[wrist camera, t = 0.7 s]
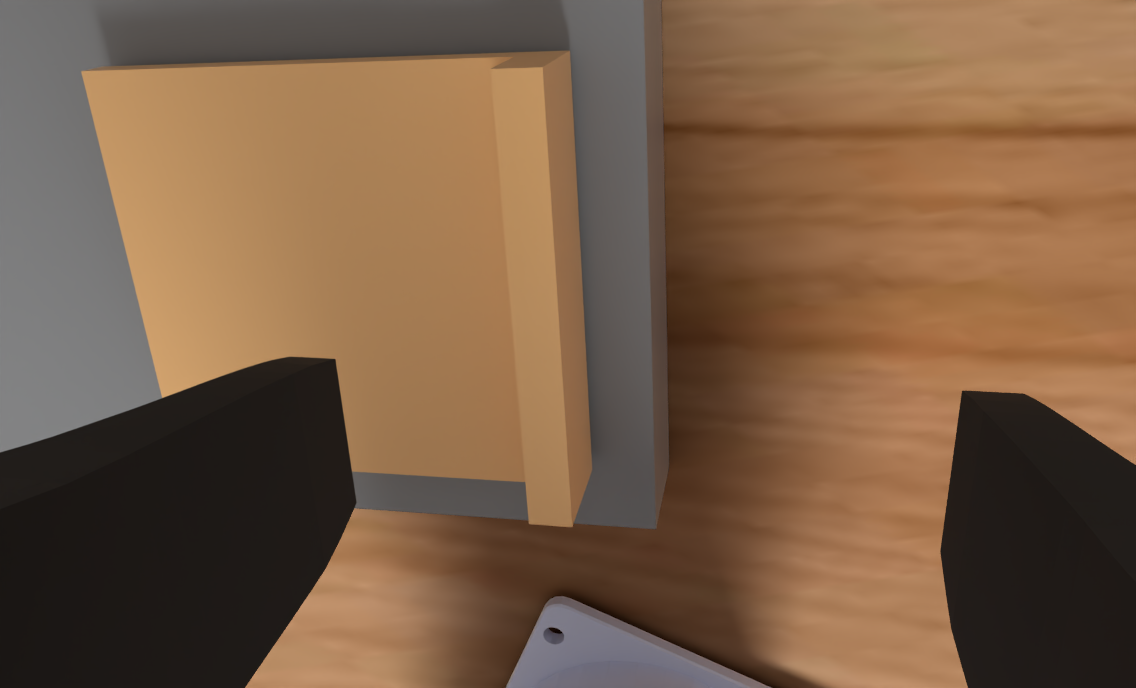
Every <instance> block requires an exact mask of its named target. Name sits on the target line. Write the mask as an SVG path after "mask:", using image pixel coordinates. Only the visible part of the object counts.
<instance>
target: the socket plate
mask: <svg viewBox="0 0 1136 688" xmlns="http://www.w3.org/2000/svg"><path fill="white" fill-rule="evenodd" d="M567 50H570V61H571V80H572V98H573V117H574V136H575V155H576V174H577V192H578V211H579V230H580V249H581V268H582V286H583V305H584V324H585V343H586V362H587V380H588V399H589V418H590V437H591V456H592V472H591V475H590V478H589V481H588V484H587V486H586V489H585V492H584V495H583V498H582V501H581V504H580V506H579V509H578V512H577V515H576V518H575V521H574V524H588V525H602V526H616V527H631V528H645V529H656V527H657V522H658V518H659V513H660V508H661V503H662V499H663V494H664V489H665V484H666V480H667V475H668V470H669V421H668V361H667V301H666V241H665V182H664V122H663V62H662V2H661V0H0V452H3V451H7V450H10V449H13V448H17V447H20V446H24V445H27V444H30V443H34V442H37V441H40V440H43V439H47V438H50V437H53V436H56V435H59V434H62V433H64V432H67V431H70V430H73V429H76V428H79V427H82V426H85V425H88V424H91V423H93V422H96V421H99V420H102V419H105V418H108V417H111V416H114V415H117V414H120V413H122V412H125V411H128V410H131V409H134V408H137V407H139V406H142V405H145V404H148V403H150V402H153V401H156V400H158V399H161V398H162V395H161V391H160V387H159V383H158V379H157V375H156V371H155V367H154V363H153V359H152V355H151V351H150V347H149V343H148V339H147V335H146V331H145V327H144V322H143V318H142V314H141V310H140V306H139V302H138V298H137V294H136V290H135V286H134V282H133V278H132V274H131V270H130V266H129V262H128V258H127V254H126V250H125V246H124V242H123V238H122V234H121V230H120V226H119V222H118V218H117V214H116V210H115V206H114V202H113V198H112V194H111V190H110V186H109V182H108V177H107V173H106V169H105V165H104V161H103V157H102V153H101V149H100V145H99V141H98V137H97V133H96V129H95V125H94V121H93V117H92V113H91V109H90V105H89V101H88V97H87V93H86V89H85V85H84V81H83V77H82V73H81V71H85V70H89V69H94V68H98V67H105V66H134V65H163V64H192V63H220V62H249V61H278V60H307V59H336V58H365V57H394V56H423V55H452V54H481V53H509V52H538V51H567ZM352 475H353V481H354V488H355V495H356V502H357V503H356V505H355V508H359V509H373V510H388V511H402V512H416V513H430V514H445V515H459V516H473V517H488V518H502V519H516V520H529V519H528V507H527V495H526V484H525V482H514V481H498V480H482V479H466V478H449V477H433V476H417V475H400V474H384V473H368V472H352Z"/></svg>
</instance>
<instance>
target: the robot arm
mask: <svg viewBox="0 0 1136 688" xmlns="http://www.w3.org/2000/svg"><path fill="white" fill-rule="evenodd" d="M356 503H357V502H356V495H355V488H354V481H353V475H352V468H351V461H350V454H349V447H348V441H347V434H346V427H345V420H344V414H343V407H342V400H341V393H340V386H339V380H338V373H337V366H336V359H330V358H310V357H284V358H279V359H274V360H270V361H266V362H263V363H259V364H256V365H253V366H249V367H246V368H243V369H240V370H237V371H234V372H232V373H229V374H226V375H223V376H220V377H218V378H215V379H212V380H209V381H207V382H204V383H201V384H198V385H196V386H193V387H190V388H188V389H185V390H182V391H180V392H177V393H174V394H172V395H169V396H166V397H164V398H161V399H158V400H156V401H153V402H150V403H148V404H145V405H142V406H139V407H137V408H134V409H131V410H128V411H125V412H122V413H120V414H117V415H114V416H111V417H108V418H105V419H102V420H99V421H96V422H93V423H91V424H88V425H85V426H82V427H79V428H76V429H73V430H70V431H67V432H64V433H62V434H59V435H56V436H53V437H50V438H47V439H43V440H40V441H37V442H34V443H30V444H27V445H24V446H20V447H17V448H13V449H10V450H7V451H3V452H0V688H245V687H246V685H247V684H248V682H249V681H250V679H251V678H252V676H253V675H254V674H255V672H256V671H257V669H258V668H259V666H260V665H261V663H262V662H263V660H264V659H265V658H266V656H267V655H268V653H269V652H270V650H271V649H272V647H273V646H274V645H275V643H276V642H277V640H278V639H279V637H280V636H281V634H282V633H283V631H284V630H285V629H286V627H287V626H288V624H289V623H290V621H291V620H292V618H293V617H294V615H295V614H296V612H297V611H298V609H299V608H300V606H301V605H302V603H303V602H304V600H305V599H306V598H307V596H308V595H309V593H310V592H311V590H312V589H313V587H314V586H315V584H316V583H317V581H318V579H319V578H320V576H321V575H322V573H323V572H324V570H325V569H326V567H327V565H328V563H329V561H330V559H331V557H332V555H333V553H334V551H335V549H336V547H337V545H338V543H339V541H340V539H341V537H342V534H343V532H344V530H345V528H346V525H347V523H348V521H349V519H350V517H351V514H352V512H353V510H354V508H355V505H356ZM940 552H941V559H942V567H943V574H944V582H945V590H946V597H947V603H948V610H949V616H950V623H951V629H952V633H953V637H954V640H955V644H956V647H957V651H958V654H959V658H960V661H961V665H962V668H963V672H964V675H965V679H966V682H967V686H968V688H1136V465H1134V464H1133V463H1131V462H1130V461H1128V460H1127V459H1125V458H1124V457H1122V456H1121V455H1119V454H1118V453H1116V452H1115V451H1113V450H1112V449H1110V448H1109V447H1107V446H1106V445H1104V444H1103V443H1101V442H1100V441H1098V440H1097V439H1095V438H1094V437H1092V436H1091V435H1089V434H1088V433H1086V432H1085V431H1083V430H1082V429H1081V428H1079V427H1078V426H1076V425H1075V424H1073V423H1072V422H1070V421H1069V420H1067V419H1066V418H1064V417H1063V416H1061V415H1060V414H1058V413H1056V412H1055V411H1053V410H1052V409H1050V408H1049V407H1047V406H1046V405H1044V404H1042V403H1041V402H1039V401H1037V400H1035V399H1034V398H1032V397H1029V396H1027V395H1025V394H1019V393H999V392H980V391H962V396H961V403H960V410H959V418H958V425H957V433H956V440H955V447H954V455H953V462H952V470H951V477H950V484H949V492H948V499H947V506H946V514H945V521H944V529H943V536H942V543H941V551H940ZM550 627H554V628H558V629H559V630H560V631H562V633H561V634H557V633H553V632H552V631H550V630H549V628H550ZM506 688H771V687H769V686H766V685H764V684H762V683H760V682H757V681H755V680H753V679H751V678H748V677H746V676H744V675H742V674H740V673H737V672H735V671H733V670H731V669H728V668H726V667H724V666H722V665H719V664H717V663H715V662H713V661H710V660H708V659H706V658H704V657H701V656H699V655H697V654H695V653H692V652H690V651H688V650H686V649H683V648H681V647H679V646H677V645H674V644H672V643H670V642H668V641H665V640H663V639H661V638H659V637H656V636H654V635H652V634H650V633H647V632H645V631H643V630H641V629H638V628H636V627H634V626H632V625H630V624H627V623H625V622H623V621H621V620H618V619H616V618H614V617H612V616H609V615H607V614H605V613H603V612H600V611H598V610H596V609H594V608H591V607H589V606H587V605H585V604H582V603H580V602H578V601H576V600H573V599H571V598H568V597H564V596H558V597H554V598H551V599H549V600H548V602H547V603H546V604H545V606H544V608H543V610H542V612H541V614H540V616H539V618H538V621H537V623H536V625H535V627H534V629H533V631H532V633H531V635H530V637H529V639H528V642H527V644H526V646H525V648H524V650H523V652H522V654H521V656H520V658H519V660H518V663H517V665H516V667H515V669H514V671H513V673H512V675H511V677H510V679H509V681H508V684H507V686H506Z"/></svg>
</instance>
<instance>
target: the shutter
mask: <svg viewBox="0 0 1136 688" xmlns="http://www.w3.org/2000/svg"><path fill="white" fill-rule="evenodd" d="M81 73H82V77H83V81H84V85H85V89H86V93H87V97H88V101H89V105H90V109H91V113H92V117H93V121H94V125H95V129H96V133H97V137H98V141H99V145H100V149H101V153H102V157H103V161H104V165H105V169H106V173H107V177H108V182H109V186H110V190H111V194H112V198H113V202H114V206H115V210H116V214H117V218H118V222H119V226H120V230H121V234H122V238H123V242H124V246H125V250H126V254H127V258H128V262H129V266H130V270H131V274H132V278H133V282H134V286H135V290H136V294H137V298H138V302H139V306H140V310H141V314H142V318H143V322H144V327H145V331H146V335H147V339H148V343H149V347H150V351H151V355H152V359H153V363H154V367H155V371H156V375H157V379H158V383H159V387H160V391H161V395H162V398H164V397H166V396H169V395H172V394H174V393H177V392H180V391H182V390H185V389H188V388H190V387H193V386H196V385H198V384H201V383H204V382H207V381H209V380H212V379H215V378H218V377H220V376H223V375H226V374H229V373H232V372H234V371H237V370H240V369H243V368H246V367H249V366H253V365H256V364H259V363H263V362H266V361H270V360H274V359H279V358H284V357H310V358H330V359H336V366H337V373H338V380H339V386H340V393H341V400H342V407H343V414H344V420H345V427H346V434H347V441H348V447H349V454H350V461H351V468H352V472H368V473H384V474H400V475H417V476H433V477H449V478H466V479H482V480H498V481H514V482H525V484H526V495H527V507H528V519H529V524H533V525H547V526H562V527H572V526H573V524H574V521H575V518H576V515H577V512H578V509H579V506H580V504H581V501H582V498H583V495H584V492H585V489H586V486H587V484H588V481H589V478H590V475H591V472H592V456H591V437H590V418H589V399H588V380H587V362H586V343H585V324H584V305H583V286H582V268H581V249H580V230H579V211H578V192H577V174H576V155H575V136H574V117H573V98H572V80H571V61H570V50H567V51H538V52H509V53H481V54H452V55H423V56H394V57H365V58H336V59H307V60H278V61H249V62H220V63H192V64H163V65H134V66H105V67H98V68H94V69H89V70H85V71H81Z"/></svg>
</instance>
